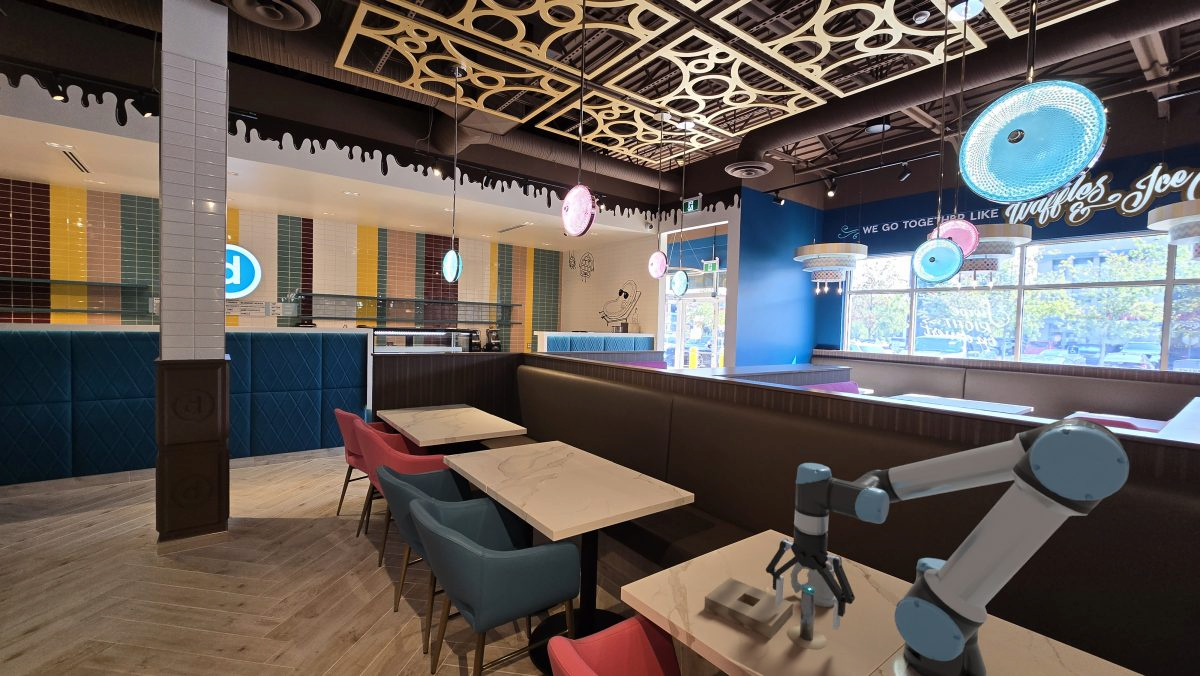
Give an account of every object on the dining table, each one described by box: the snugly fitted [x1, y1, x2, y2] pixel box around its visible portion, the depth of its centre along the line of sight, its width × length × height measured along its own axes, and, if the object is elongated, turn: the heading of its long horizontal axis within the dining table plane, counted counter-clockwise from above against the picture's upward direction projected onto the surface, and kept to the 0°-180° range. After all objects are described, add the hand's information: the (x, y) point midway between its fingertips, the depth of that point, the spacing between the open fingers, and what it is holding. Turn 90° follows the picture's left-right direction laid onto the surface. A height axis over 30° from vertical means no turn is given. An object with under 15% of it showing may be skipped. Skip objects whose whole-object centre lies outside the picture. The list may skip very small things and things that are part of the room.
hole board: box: [704, 577, 794, 640], centre depth 129 cm, size 18×14×4 cm
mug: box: [789, 562, 837, 608], centre depth 136 cm, size 8×12×12 cm, turn 73°
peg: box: [799, 585, 816, 641], centre depth 119 cm, size 3×3×12 cm
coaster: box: [786, 625, 828, 650], centre depth 119 cm, size 9×9×1 cm
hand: (806, 615), depth 119 cm, fingers open, 13 cm apart
